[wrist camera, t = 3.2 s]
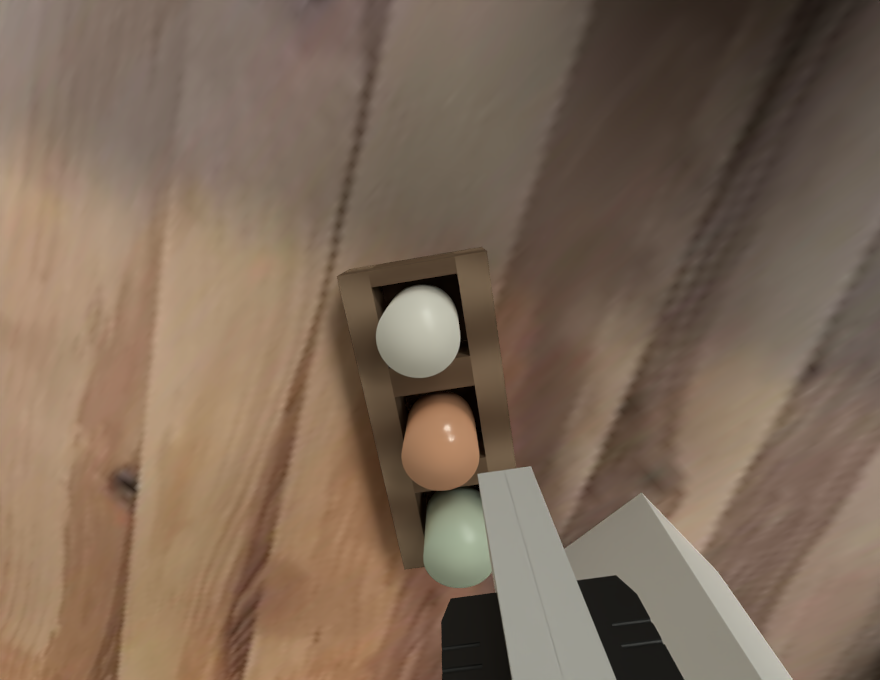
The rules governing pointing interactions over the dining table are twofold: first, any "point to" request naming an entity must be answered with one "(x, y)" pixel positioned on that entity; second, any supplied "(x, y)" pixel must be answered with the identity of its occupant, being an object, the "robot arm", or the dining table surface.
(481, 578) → the pale green domed cylinder
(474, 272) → the wooden compartment tray
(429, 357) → the off-white button
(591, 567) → the milk
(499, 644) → the robot arm
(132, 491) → the dining table surface
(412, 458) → the peach rounded cylinder
